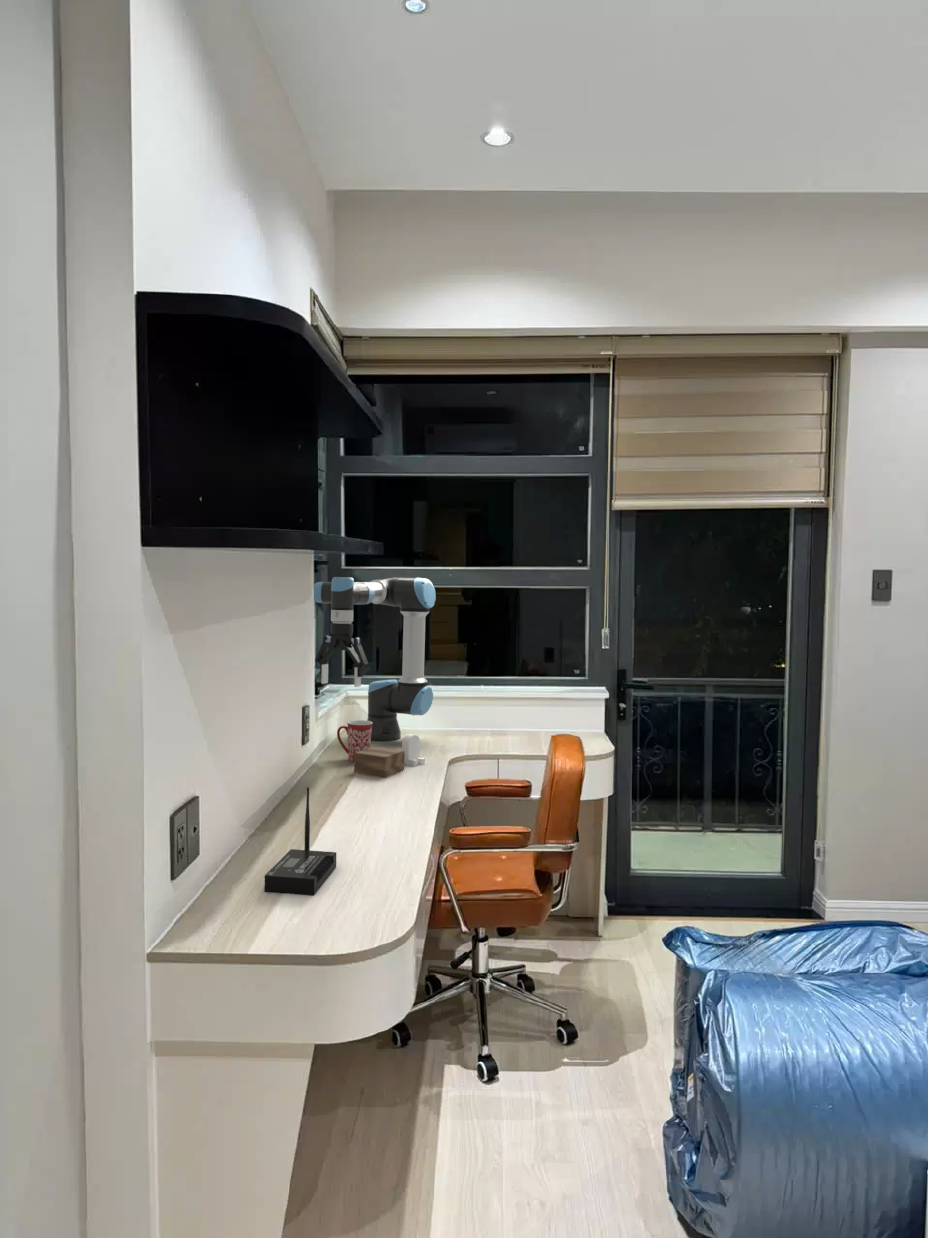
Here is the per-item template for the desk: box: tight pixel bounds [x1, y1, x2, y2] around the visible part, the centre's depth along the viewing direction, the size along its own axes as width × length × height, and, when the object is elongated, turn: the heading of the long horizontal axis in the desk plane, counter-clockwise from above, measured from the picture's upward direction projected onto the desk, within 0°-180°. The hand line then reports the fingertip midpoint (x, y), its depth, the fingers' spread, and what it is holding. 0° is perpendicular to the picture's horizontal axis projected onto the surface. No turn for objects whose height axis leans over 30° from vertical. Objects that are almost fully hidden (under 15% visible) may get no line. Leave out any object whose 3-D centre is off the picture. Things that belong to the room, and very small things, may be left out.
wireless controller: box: [263, 786, 337, 896], centre depth 170 cm, size 20×14×17 cm
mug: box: [336, 719, 373, 763], centre depth 279 cm, size 13×9×14 cm
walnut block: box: [353, 746, 405, 779], centre depth 263 cm, size 12×12×7 cm
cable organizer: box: [401, 733, 426, 767], centre depth 277 cm, size 5×10×10 cm, turn 45°
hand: (340, 685), depth 269 cm, fingers open, 13 cm apart
